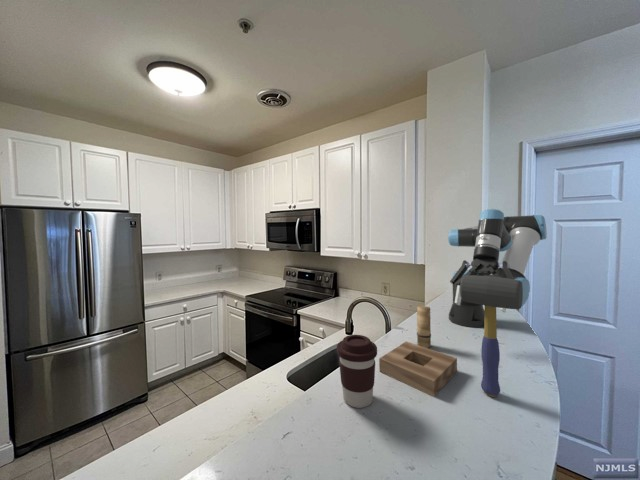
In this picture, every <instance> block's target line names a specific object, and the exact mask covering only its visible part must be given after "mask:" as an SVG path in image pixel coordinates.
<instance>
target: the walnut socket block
mask: <svg viewBox="0 0 640 480" xmlns="http://www.w3.org/2000/svg"><path fill="white" fill-rule="evenodd" d="M378 369H379V372H380V373H382V374H384V375H386V376H388V377H390V378H393V379H395V380H396V381H398V382H401V383H404V384H405V385H407V386H410V387H412V388H413V389H416V390H418V391H420V392H423V393H425V394H426V395H429V396H431V397H433V398H435V397H436V396H437V395H438V393H439V392H440V391H441V390H443V389H442V388H444V387H445V386H446V384H447V383H448V382H449V381H450V380H451V379H452V377H453V376H454V375H456V373H457V372H458V357H454V356H452V355H448V354H446V353H443V352H440V351H436V350H434V349H431V348H430V349H428V348H425V347H422V346H419V345H417V344H415V343H412V342H409V341H405V342H403V343H401V344H400V345H399V346H397V347H395V348H393V349H392V350H390V351H389V352H387V353H385V354H384V355H383V356H381V357H379V368H378Z"/></svg>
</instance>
